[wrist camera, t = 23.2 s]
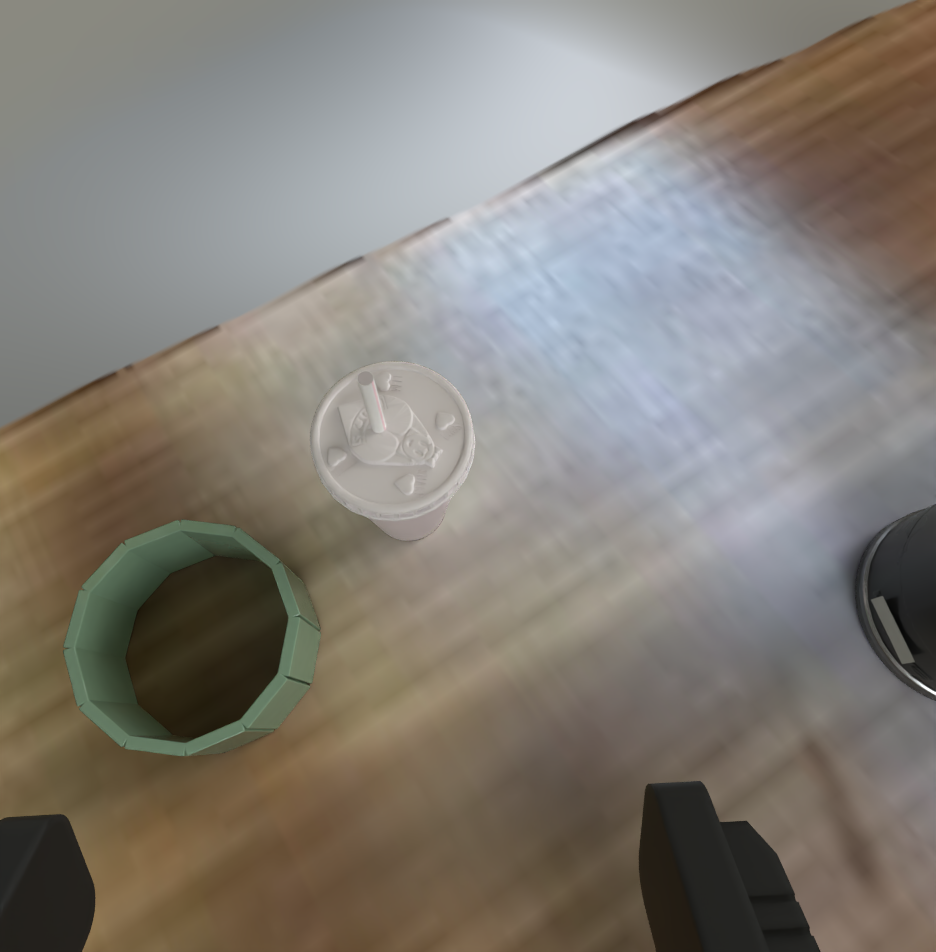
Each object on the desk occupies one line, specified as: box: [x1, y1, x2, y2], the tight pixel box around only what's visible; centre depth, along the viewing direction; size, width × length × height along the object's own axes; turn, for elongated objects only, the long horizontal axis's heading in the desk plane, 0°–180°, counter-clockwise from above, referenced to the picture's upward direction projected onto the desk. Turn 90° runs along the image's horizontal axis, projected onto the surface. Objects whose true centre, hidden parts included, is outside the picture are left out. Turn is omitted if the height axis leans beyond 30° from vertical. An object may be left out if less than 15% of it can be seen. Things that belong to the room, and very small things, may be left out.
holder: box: [63, 519, 321, 756], centre depth 34 cm, size 9×9×5 cm
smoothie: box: [310, 361, 475, 541], centre depth 32 cm, size 6×6×14 cm
